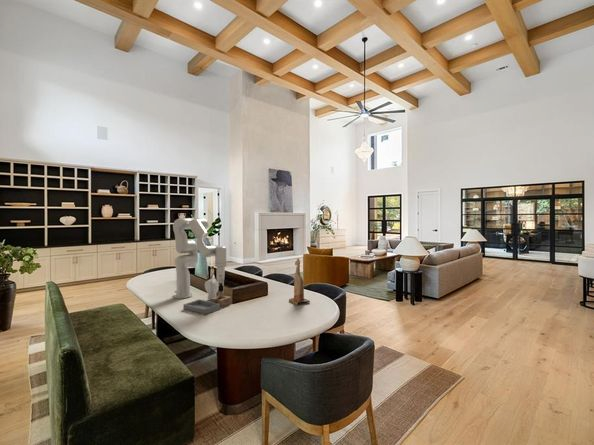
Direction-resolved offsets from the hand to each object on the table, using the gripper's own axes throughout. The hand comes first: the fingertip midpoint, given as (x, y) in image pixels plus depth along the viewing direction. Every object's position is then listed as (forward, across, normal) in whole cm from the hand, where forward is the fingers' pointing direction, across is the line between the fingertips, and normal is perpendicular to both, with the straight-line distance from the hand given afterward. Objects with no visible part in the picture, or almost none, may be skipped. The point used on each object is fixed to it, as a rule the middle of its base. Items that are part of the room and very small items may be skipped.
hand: (221, 290), depth 201 cm
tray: (+10, +7, -12) cm, 17 cm away
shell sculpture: (+10, -13, -6) cm, 18 cm away
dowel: (+6, 0, 0) cm, 6 cm away
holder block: (+10, 0, 0) cm, 10 cm away
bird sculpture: (+10, +9, +54) cm, 55 cm away
